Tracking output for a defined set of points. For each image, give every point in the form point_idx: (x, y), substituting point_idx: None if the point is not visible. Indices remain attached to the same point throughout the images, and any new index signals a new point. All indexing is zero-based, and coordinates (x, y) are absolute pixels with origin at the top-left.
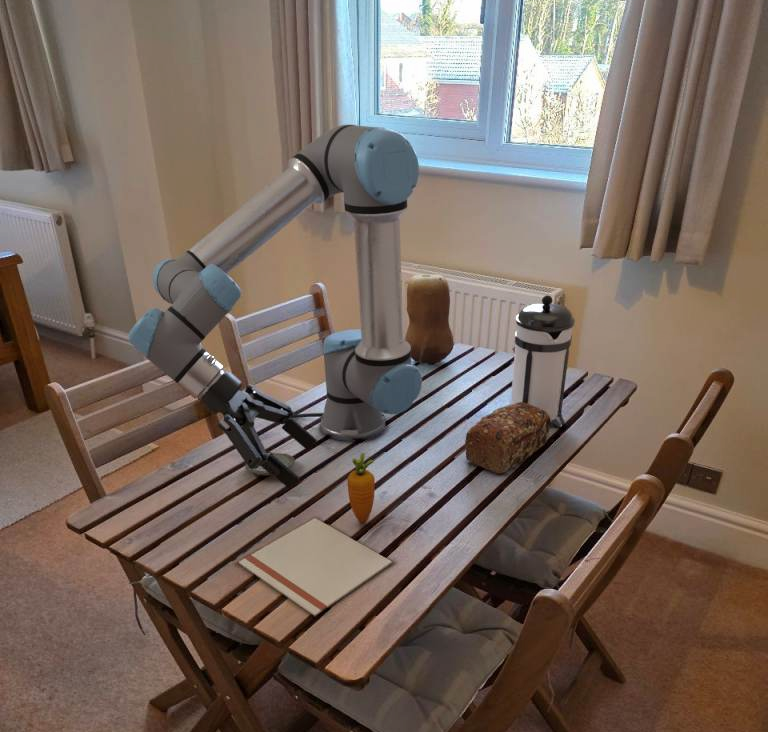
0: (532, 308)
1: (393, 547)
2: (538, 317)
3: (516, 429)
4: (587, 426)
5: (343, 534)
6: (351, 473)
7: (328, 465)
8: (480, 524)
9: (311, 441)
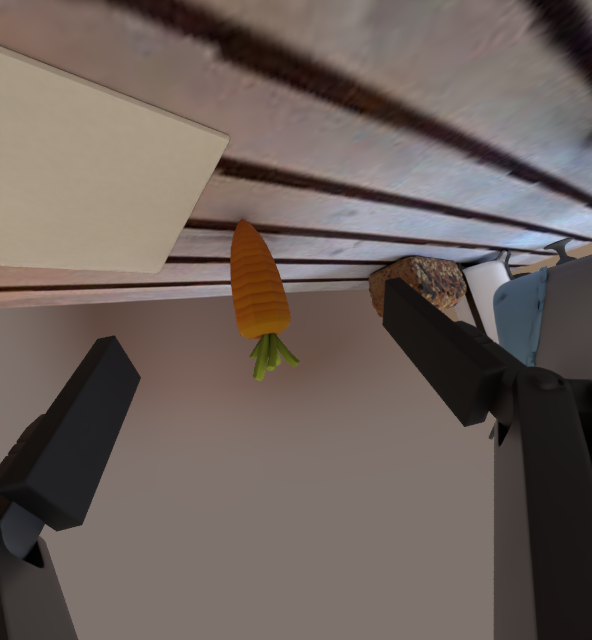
0: None
1: (197, 261)
2: None
3: None
4: None
5: (189, 214)
6: (265, 329)
7: (549, 59)
8: None
9: (390, 322)
